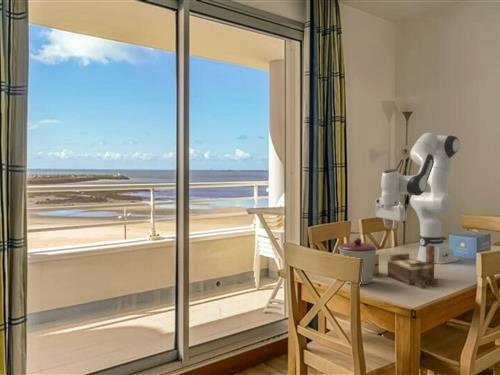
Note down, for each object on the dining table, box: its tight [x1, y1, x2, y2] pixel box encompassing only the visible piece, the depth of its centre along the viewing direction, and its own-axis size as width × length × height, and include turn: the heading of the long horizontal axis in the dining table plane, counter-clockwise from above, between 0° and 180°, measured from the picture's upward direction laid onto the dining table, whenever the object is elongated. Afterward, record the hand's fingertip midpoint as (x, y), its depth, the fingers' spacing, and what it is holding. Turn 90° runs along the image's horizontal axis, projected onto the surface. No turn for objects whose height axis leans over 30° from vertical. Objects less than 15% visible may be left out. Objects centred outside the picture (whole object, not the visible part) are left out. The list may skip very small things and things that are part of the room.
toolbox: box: [387, 261, 439, 289], centre depth 196 cm, size 12×22×7 cm, turn 18°
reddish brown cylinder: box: [426, 245, 435, 279], centre depth 198 cm, size 4×4×16 cm
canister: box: [337, 237, 378, 286], centre depth 195 cm, size 18×18×21 cm
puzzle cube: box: [373, 253, 380, 276], centre depth 211 cm, size 10×10×10 cm
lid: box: [387, 252, 433, 270], centre depth 197 cm, size 12×18×4 cm
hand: (390, 227), depth 211 cm, fingers open, 4 cm apart
